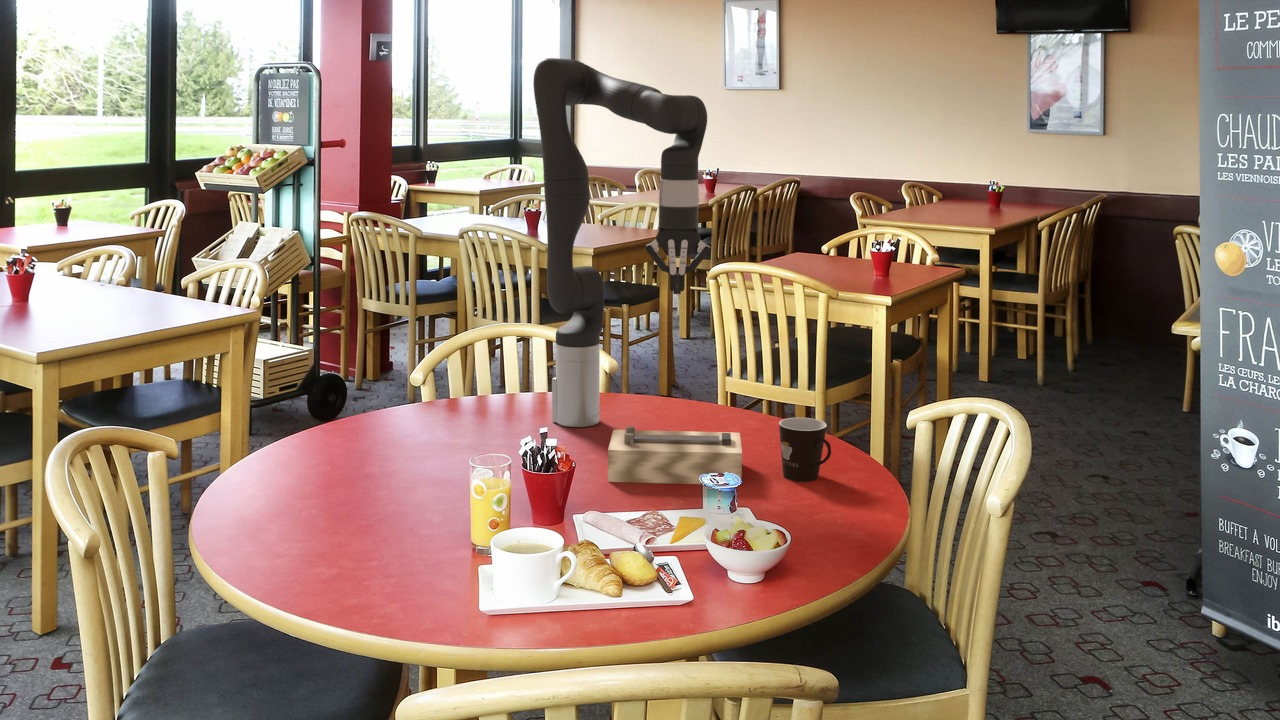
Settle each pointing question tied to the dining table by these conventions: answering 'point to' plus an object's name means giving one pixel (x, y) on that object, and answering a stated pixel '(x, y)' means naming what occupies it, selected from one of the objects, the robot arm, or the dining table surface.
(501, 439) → the dining table surface
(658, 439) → the strap
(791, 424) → the coffee mug
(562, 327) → the robot arm
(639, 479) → the tea crate
